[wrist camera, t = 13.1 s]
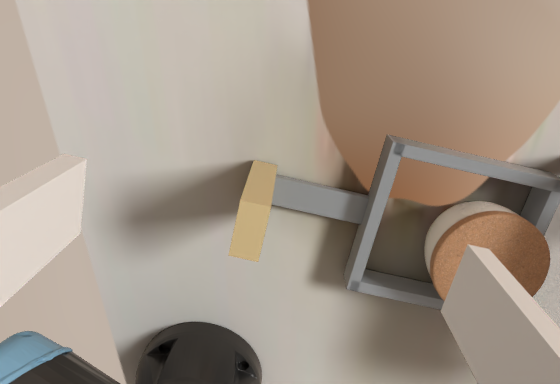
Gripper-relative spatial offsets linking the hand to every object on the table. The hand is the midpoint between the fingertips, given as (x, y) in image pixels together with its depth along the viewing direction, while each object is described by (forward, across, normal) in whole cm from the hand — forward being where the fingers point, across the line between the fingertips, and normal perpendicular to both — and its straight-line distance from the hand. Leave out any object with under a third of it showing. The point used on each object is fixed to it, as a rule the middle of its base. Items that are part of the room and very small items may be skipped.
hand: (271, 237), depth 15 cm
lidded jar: (+32, -22, +10) cm, 40 cm away
